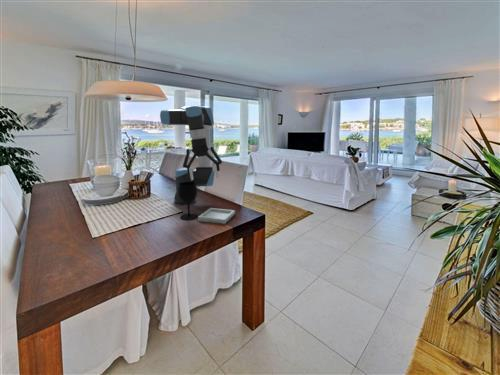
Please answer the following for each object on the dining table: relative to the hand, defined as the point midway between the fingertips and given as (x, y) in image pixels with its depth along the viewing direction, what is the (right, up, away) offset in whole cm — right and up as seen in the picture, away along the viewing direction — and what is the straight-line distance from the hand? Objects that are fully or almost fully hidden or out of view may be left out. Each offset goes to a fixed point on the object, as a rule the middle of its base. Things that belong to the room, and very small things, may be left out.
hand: (205, 178), depth 131 cm
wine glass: (-12, -22, +13) cm, 28 cm away
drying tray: (+5, -22, +12) cm, 26 cm away
